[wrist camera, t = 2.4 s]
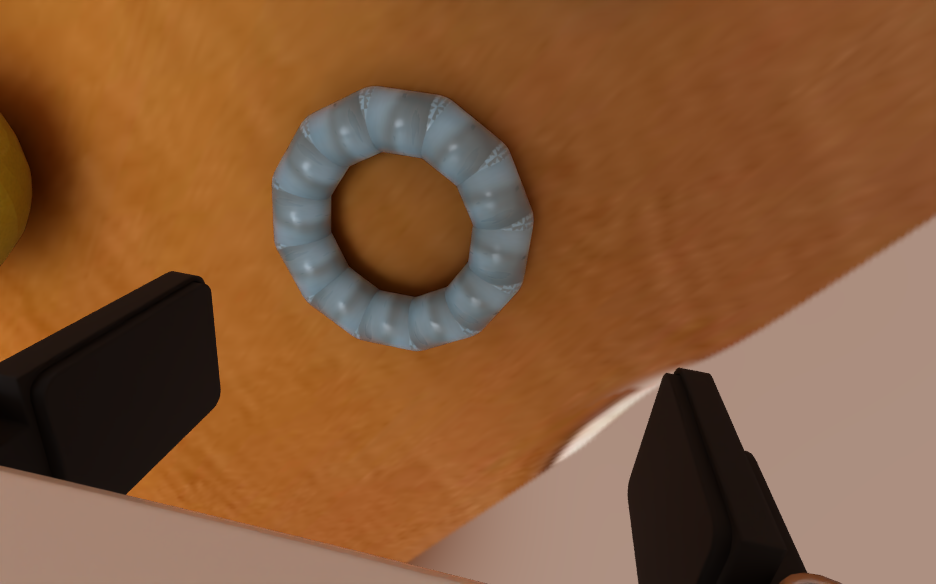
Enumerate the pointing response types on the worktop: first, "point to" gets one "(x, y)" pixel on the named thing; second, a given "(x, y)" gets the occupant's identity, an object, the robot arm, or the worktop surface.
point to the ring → (452, 154)
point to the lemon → (12, 190)
